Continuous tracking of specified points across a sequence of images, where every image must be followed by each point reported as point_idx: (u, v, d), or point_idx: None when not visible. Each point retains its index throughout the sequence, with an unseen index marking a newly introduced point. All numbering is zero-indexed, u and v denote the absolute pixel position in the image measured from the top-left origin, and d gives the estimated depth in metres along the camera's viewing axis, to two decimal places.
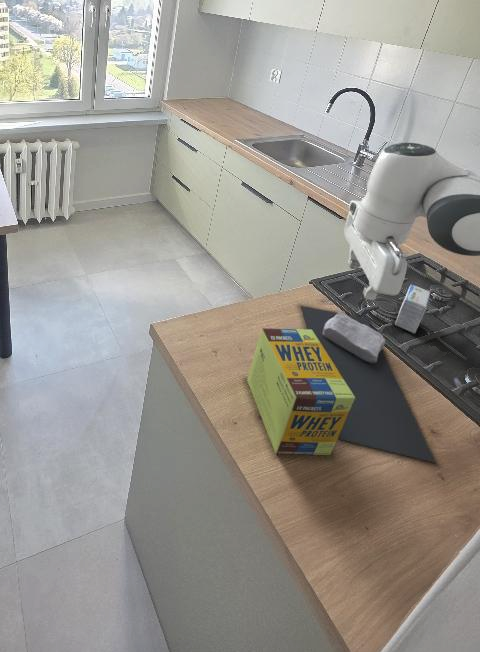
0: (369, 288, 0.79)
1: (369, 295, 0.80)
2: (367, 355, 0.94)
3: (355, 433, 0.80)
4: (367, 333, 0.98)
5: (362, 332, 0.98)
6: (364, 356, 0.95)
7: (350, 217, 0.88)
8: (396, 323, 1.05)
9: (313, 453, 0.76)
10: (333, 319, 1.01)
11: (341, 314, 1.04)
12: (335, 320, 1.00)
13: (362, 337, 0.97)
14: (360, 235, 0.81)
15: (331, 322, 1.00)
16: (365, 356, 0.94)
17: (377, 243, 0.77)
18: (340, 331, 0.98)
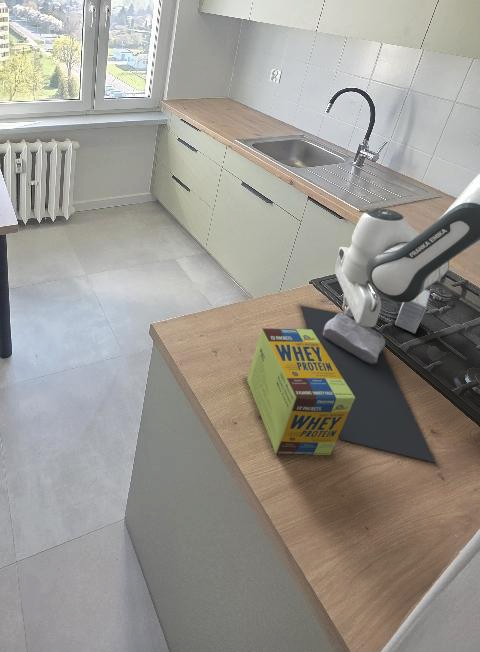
0: (348, 308, 1.03)
1: (348, 313, 1.04)
2: (367, 356, 0.94)
3: (355, 433, 0.80)
4: (367, 334, 0.98)
5: (363, 333, 0.98)
6: (364, 356, 0.94)
7: (339, 260, 1.09)
8: (396, 323, 1.05)
9: (313, 453, 0.76)
10: (333, 320, 1.01)
11: (341, 315, 1.04)
12: (335, 321, 1.00)
13: (363, 337, 0.97)
14: (346, 277, 1.02)
15: (331, 323, 1.00)
16: (365, 357, 0.94)
17: (359, 285, 0.98)
18: (340, 332, 0.98)
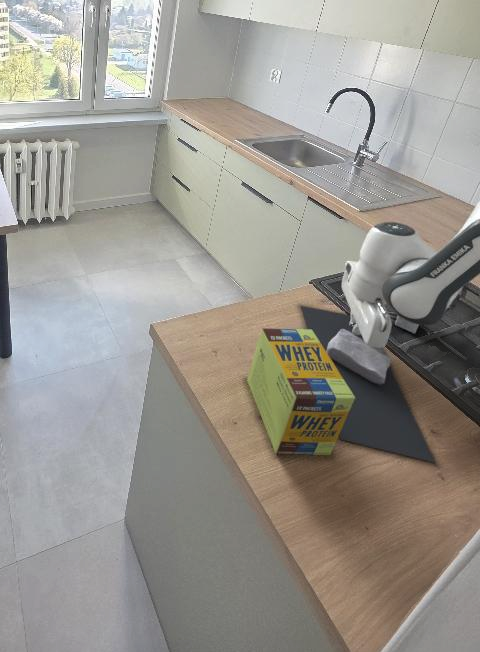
0: (355, 326, 0.98)
1: (356, 331, 0.99)
2: (374, 376, 0.89)
3: (355, 433, 0.80)
4: (372, 352, 0.93)
5: (368, 351, 0.93)
6: (371, 377, 0.89)
7: (346, 274, 1.04)
8: (396, 323, 1.05)
9: (313, 453, 0.76)
10: (337, 338, 0.96)
11: (344, 331, 0.99)
12: (338, 339, 0.95)
13: (368, 356, 0.92)
14: (354, 294, 0.96)
15: (335, 341, 0.95)
16: (372, 377, 0.89)
17: (368, 303, 0.92)
18: (345, 351, 0.93)
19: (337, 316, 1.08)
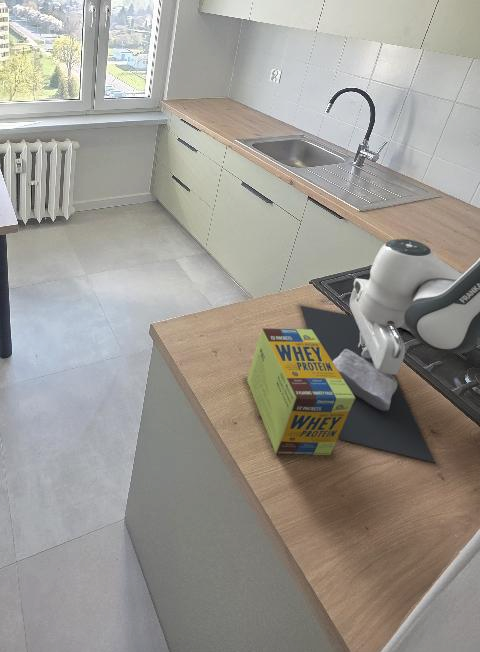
0: (365, 349, 0.92)
1: (365, 354, 0.93)
2: (378, 402, 0.83)
3: (355, 433, 0.80)
4: (377, 375, 0.88)
5: (372, 374, 0.88)
6: (374, 402, 0.84)
7: (355, 292, 0.98)
8: None
9: (313, 453, 0.76)
10: (339, 358, 0.90)
11: (347, 351, 0.93)
12: (341, 360, 0.90)
13: (372, 380, 0.87)
14: (364, 315, 0.90)
15: (337, 362, 0.90)
16: (376, 403, 0.84)
17: (379, 326, 0.86)
18: (347, 374, 0.87)
19: (337, 316, 1.08)
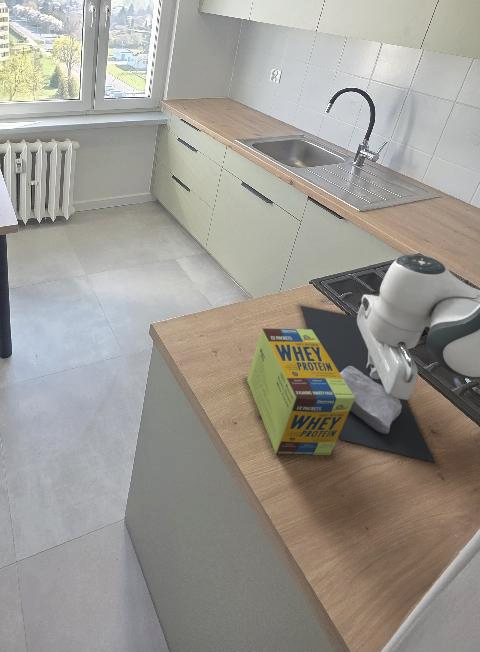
0: (374, 369, 0.87)
1: (374, 375, 0.88)
2: (377, 423, 0.79)
3: (355, 433, 0.80)
4: (380, 396, 0.83)
5: (374, 394, 0.84)
6: (373, 423, 0.80)
7: (363, 309, 0.93)
8: None
9: (313, 453, 0.76)
10: (340, 374, 0.87)
11: (351, 369, 0.89)
12: (342, 376, 0.86)
13: (373, 400, 0.82)
14: (373, 334, 0.85)
15: None
16: (375, 424, 0.80)
17: (389, 347, 0.81)
18: None
19: (337, 316, 1.08)
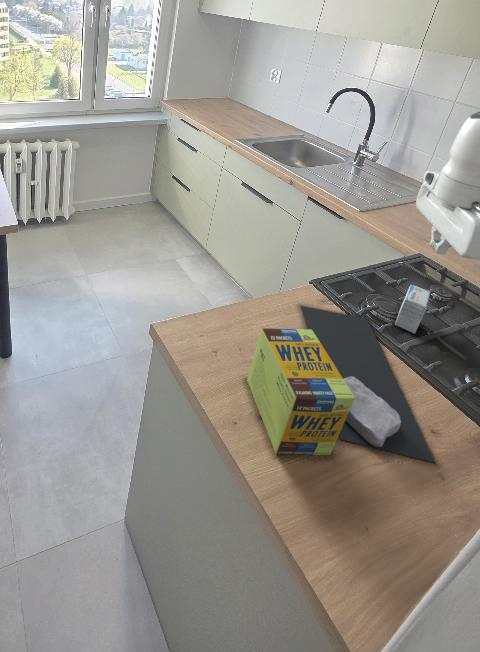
0: (441, 242, 0.84)
1: (440, 249, 0.85)
2: (369, 435, 0.77)
3: (355, 433, 0.80)
4: (378, 409, 0.81)
5: (372, 407, 0.81)
6: (366, 435, 0.78)
7: (424, 188, 0.90)
8: (396, 323, 1.05)
9: (313, 453, 0.76)
10: None
11: (352, 379, 0.87)
12: None
13: (370, 412, 0.80)
14: (441, 203, 0.82)
15: None
16: (367, 436, 0.78)
17: (462, 209, 0.78)
18: None
19: (337, 316, 1.08)
